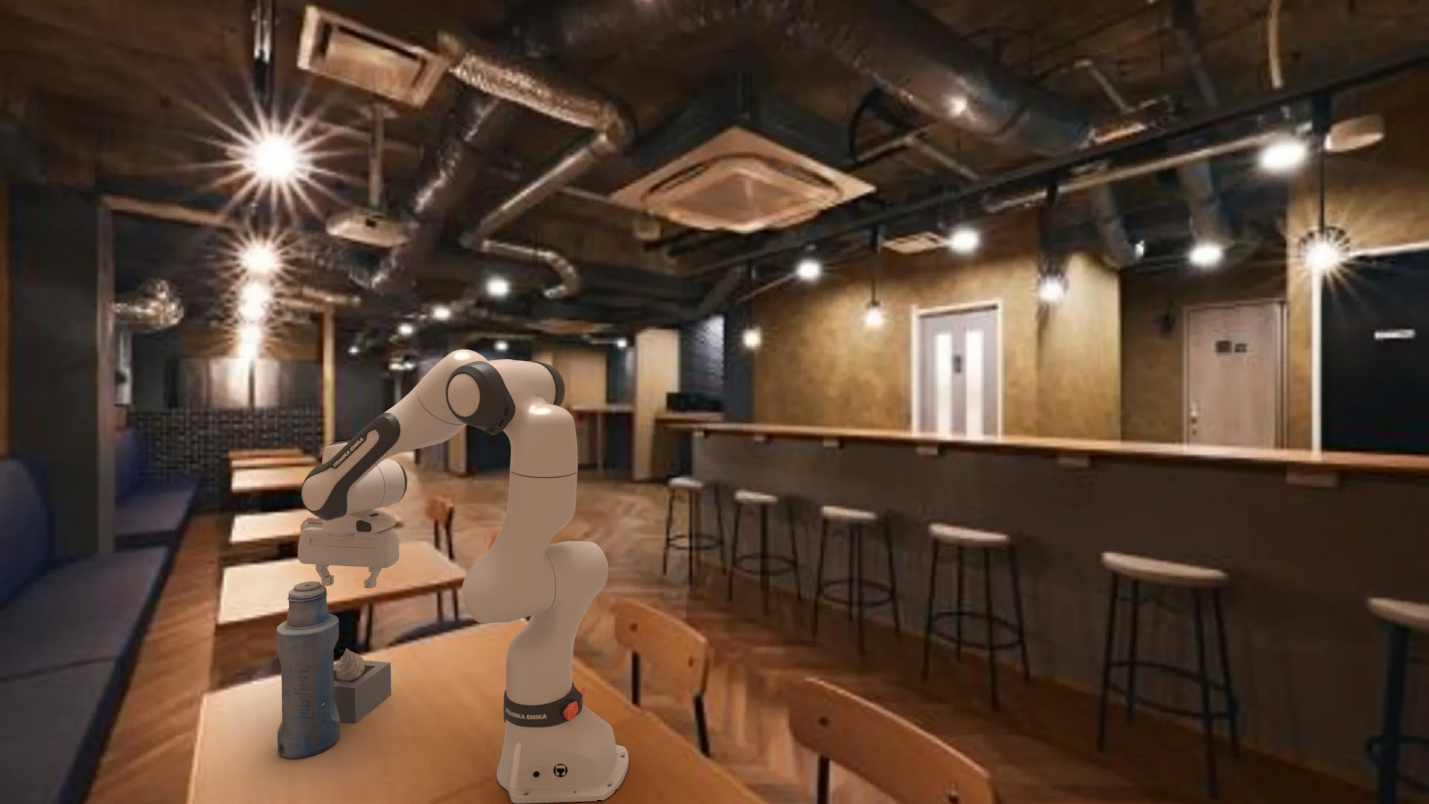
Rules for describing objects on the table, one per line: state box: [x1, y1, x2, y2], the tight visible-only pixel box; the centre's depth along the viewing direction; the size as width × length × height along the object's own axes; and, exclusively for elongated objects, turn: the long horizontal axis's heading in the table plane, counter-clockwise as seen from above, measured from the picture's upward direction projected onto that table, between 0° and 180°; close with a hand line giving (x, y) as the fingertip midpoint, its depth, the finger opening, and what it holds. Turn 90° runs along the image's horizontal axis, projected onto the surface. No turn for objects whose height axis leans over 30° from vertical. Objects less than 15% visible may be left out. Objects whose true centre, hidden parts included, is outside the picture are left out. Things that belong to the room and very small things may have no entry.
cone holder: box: [334, 659, 392, 724], centre depth 131 cm, size 11×11×7 cm
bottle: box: [275, 580, 341, 759], centre depth 117 cm, size 10×10×30 cm
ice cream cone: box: [336, 647, 364, 682], centre depth 129 cm, size 5×5×15 cm
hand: (349, 586), depth 130 cm, fingers open, 8 cm apart
